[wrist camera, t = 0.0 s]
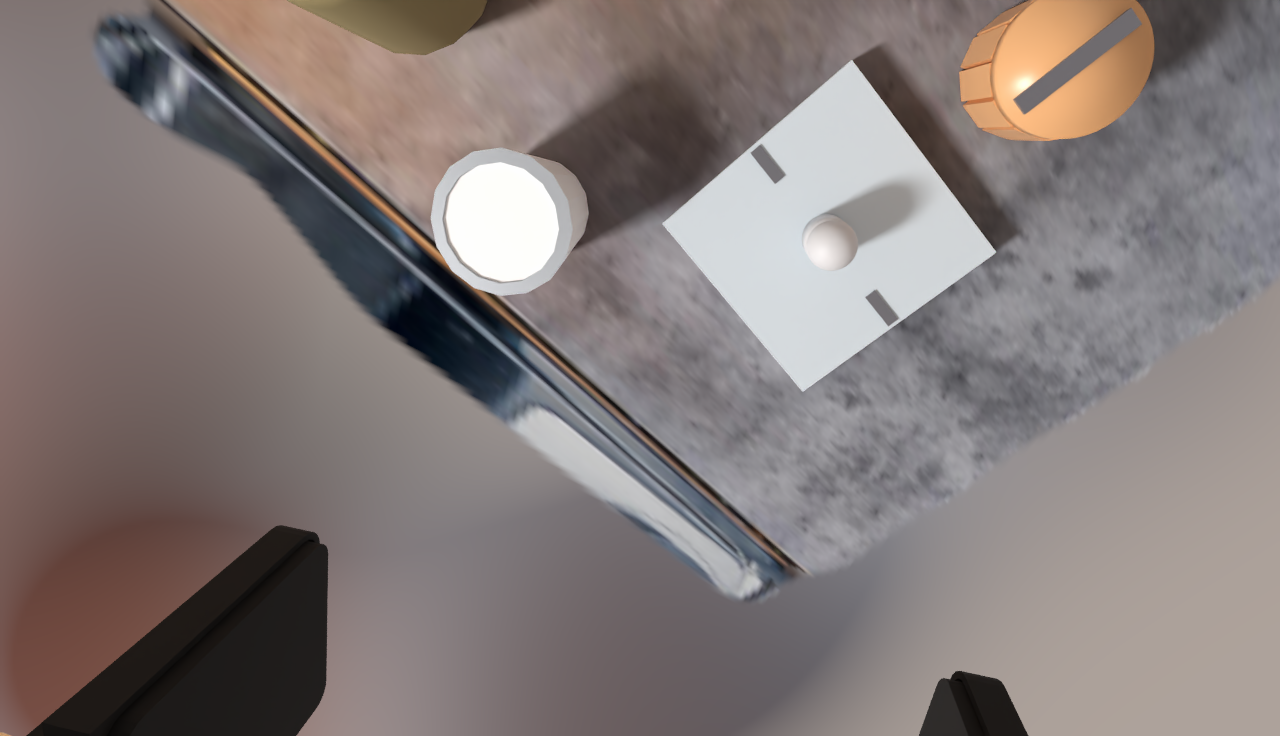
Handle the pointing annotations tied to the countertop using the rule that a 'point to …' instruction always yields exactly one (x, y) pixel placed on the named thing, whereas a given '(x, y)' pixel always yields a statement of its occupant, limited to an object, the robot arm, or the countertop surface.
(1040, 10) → the cap
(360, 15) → the squeeze bottle
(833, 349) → the knob base plate
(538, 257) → the white cup
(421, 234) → the countertop surface
